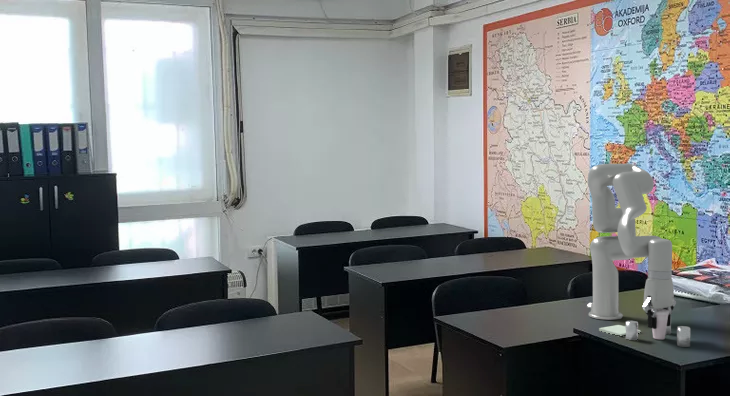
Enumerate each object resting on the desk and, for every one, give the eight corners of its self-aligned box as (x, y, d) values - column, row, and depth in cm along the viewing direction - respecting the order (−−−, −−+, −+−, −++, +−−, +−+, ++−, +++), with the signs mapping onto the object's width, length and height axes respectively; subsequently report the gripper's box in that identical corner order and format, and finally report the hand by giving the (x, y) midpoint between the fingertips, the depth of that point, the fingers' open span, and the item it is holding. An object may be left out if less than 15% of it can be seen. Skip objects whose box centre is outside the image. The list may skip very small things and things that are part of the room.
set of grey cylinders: (623, 338, 246) (623, 321, 245) (663, 331, 255) (663, 314, 255) (667, 351, 229) (667, 332, 229) (709, 342, 239) (709, 324, 239)
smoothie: (668, 336, 247) (668, 296, 246) (669, 341, 241) (670, 300, 240) (648, 334, 249) (648, 295, 248) (649, 339, 243) (649, 299, 242)
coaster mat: (598, 330, 257) (598, 328, 257) (618, 327, 262) (618, 324, 262) (620, 336, 248) (620, 334, 248) (640, 333, 253) (640, 330, 253)
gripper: (667, 270, 251) (667, 321, 252) (633, 275, 243) (632, 327, 244) (686, 274, 244) (685, 325, 245) (651, 279, 236) (650, 332, 237)
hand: (659, 326), depth 244 cm, fingers closed on smoothie, 6 cm apart
